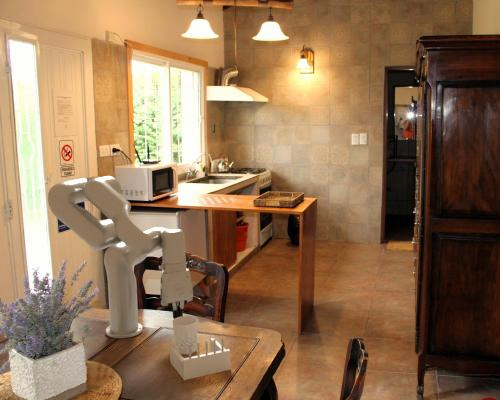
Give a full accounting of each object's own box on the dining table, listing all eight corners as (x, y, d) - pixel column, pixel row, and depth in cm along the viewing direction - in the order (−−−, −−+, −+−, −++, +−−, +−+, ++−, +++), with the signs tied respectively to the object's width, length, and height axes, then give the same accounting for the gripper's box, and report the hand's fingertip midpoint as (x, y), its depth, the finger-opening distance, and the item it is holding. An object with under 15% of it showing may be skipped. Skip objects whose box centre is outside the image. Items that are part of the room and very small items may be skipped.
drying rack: (170, 362, 165) (169, 330, 164) (213, 352, 171) (213, 322, 170) (184, 380, 154) (183, 346, 152) (230, 369, 160) (230, 337, 159)
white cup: (194, 356, 169) (193, 326, 167) (170, 354, 170) (169, 324, 169) (201, 346, 177) (200, 316, 175) (178, 344, 178) (177, 315, 177)
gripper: (155, 272, 172) (159, 328, 174) (200, 265, 178) (203, 319, 181) (149, 267, 178) (153, 320, 181) (192, 260, 185) (195, 312, 188)
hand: (178, 319), depth 181 cm, fingers closed
